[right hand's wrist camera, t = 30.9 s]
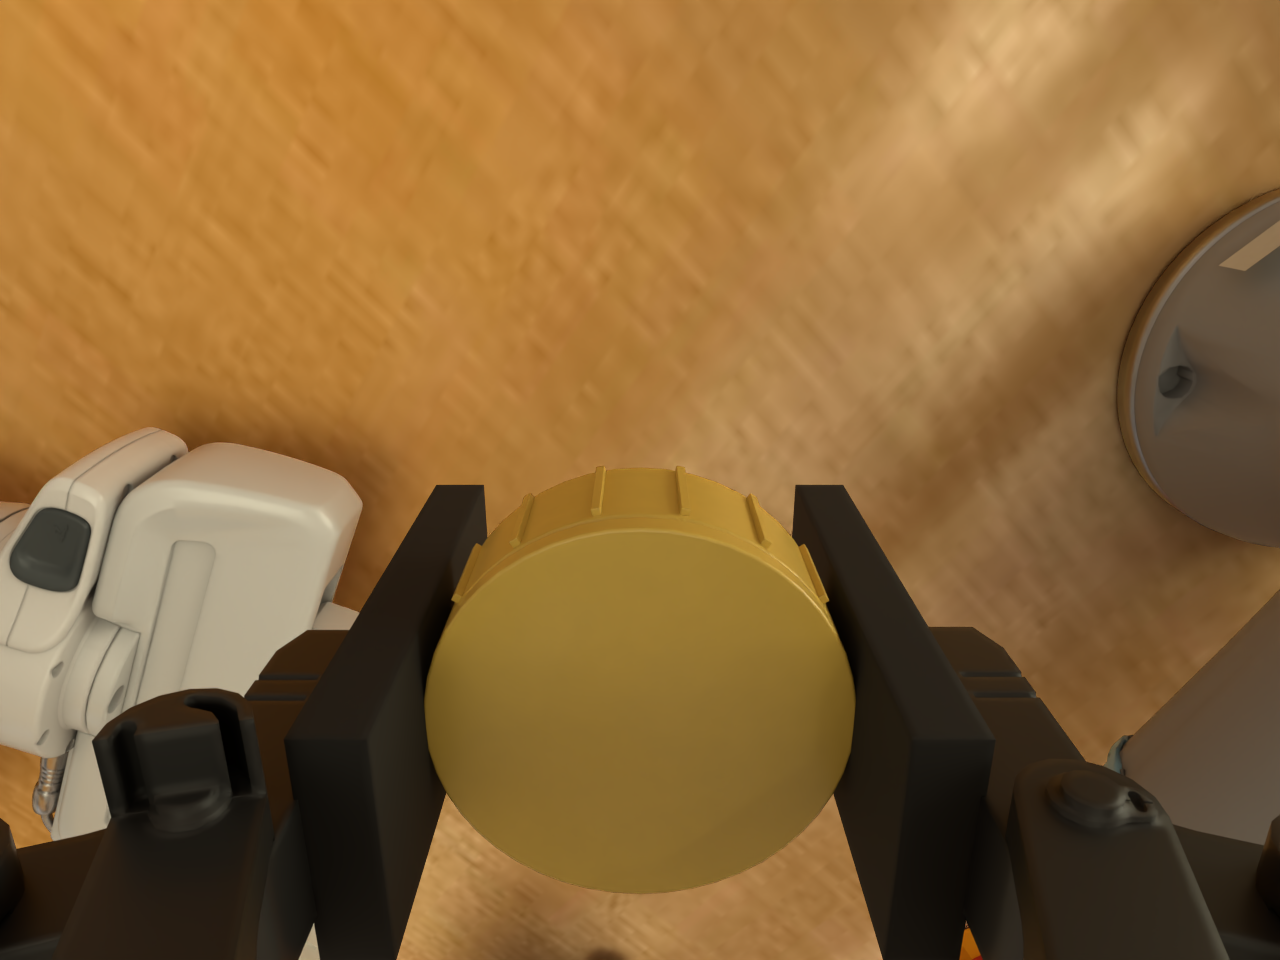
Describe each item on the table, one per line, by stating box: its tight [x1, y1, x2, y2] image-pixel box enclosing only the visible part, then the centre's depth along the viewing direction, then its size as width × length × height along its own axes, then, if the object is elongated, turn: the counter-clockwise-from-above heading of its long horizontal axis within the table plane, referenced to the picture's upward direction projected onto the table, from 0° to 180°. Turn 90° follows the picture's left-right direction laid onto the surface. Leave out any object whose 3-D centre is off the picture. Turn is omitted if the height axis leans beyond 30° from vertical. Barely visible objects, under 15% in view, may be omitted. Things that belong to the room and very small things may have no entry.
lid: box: [424, 466, 856, 894], centre depth 11 cm, size 5×5×2 cm
